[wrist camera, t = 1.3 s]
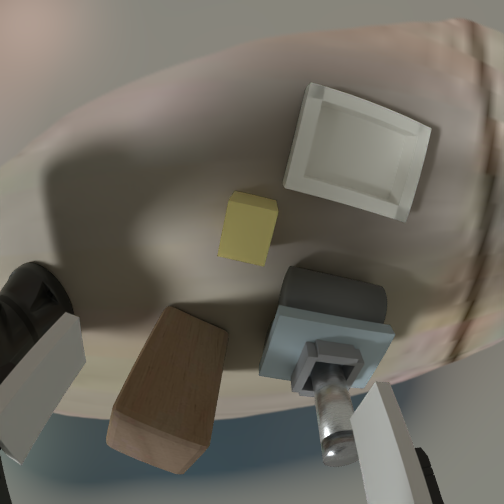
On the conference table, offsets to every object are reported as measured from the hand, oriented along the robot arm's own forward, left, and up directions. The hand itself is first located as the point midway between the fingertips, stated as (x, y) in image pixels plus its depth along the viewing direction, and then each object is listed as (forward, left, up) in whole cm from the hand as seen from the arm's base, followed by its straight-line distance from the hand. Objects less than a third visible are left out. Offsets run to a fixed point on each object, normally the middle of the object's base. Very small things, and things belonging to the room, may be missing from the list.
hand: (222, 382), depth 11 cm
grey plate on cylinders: (+12, -11, -26) cm, 30 cm away
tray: (+10, +11, -26) cm, 30 cm away
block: (-5, -20, -26) cm, 33 cm away
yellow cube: (0, 0, -26) cm, 26 cm away
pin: (+12, -12, -17) cm, 24 cm away
